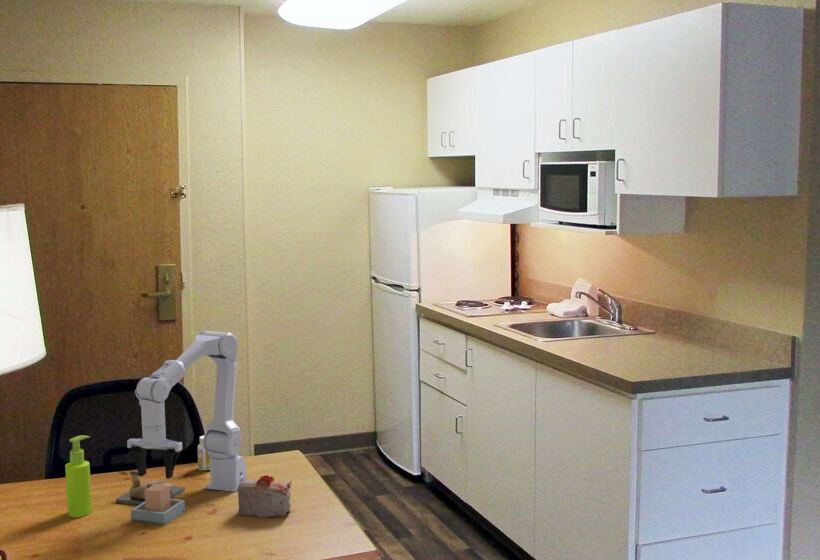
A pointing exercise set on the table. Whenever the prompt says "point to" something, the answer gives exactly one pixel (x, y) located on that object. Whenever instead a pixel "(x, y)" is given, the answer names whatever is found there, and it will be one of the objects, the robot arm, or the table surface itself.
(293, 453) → the table surface
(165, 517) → the tray
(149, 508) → the block
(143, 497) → the crank
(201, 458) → the supplement bottle
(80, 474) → the soap dispenser
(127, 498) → the crank base
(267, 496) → the food item
